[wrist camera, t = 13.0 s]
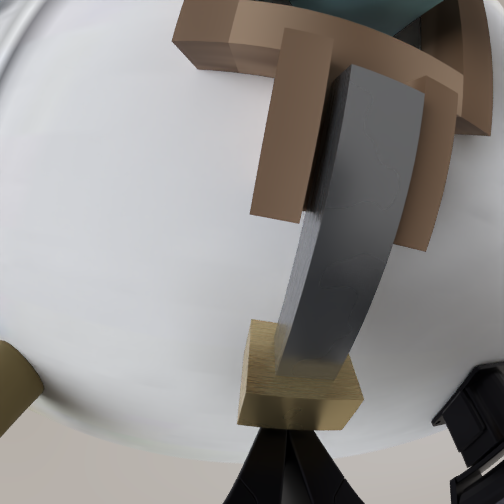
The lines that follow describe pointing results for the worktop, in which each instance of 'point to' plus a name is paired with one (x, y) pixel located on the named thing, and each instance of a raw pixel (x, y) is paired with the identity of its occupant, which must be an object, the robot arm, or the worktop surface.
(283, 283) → the worktop surface
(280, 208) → the dock
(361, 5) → the peg
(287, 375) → the lock bolt
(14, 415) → the cork
